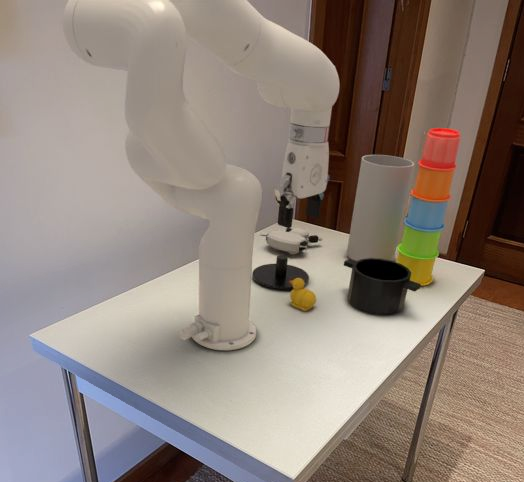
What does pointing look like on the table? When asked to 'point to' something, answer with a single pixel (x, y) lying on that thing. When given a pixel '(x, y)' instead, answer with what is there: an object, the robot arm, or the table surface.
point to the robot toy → (290, 240)
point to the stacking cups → (429, 204)
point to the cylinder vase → (379, 206)
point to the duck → (301, 295)
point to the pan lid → (279, 274)
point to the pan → (379, 285)
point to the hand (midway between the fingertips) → (298, 221)
